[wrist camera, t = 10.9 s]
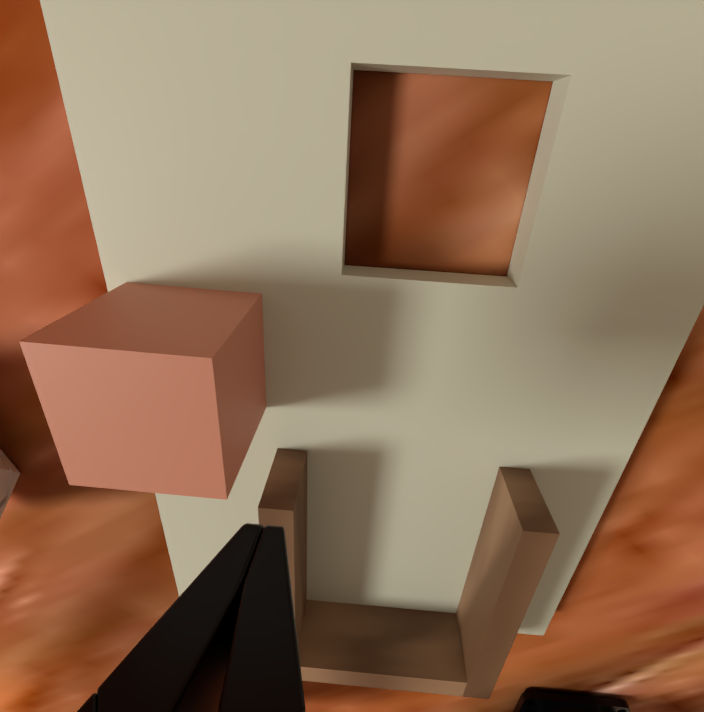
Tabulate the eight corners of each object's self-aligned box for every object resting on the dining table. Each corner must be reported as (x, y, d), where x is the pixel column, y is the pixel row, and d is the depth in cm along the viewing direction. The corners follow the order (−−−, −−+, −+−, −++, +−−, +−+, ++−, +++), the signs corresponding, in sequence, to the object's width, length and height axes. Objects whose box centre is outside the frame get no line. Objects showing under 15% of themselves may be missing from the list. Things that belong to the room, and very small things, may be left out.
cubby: (530, 469, 16) (559, 534, 13) (475, 629, 21) (488, 699, 19) (277, 448, 16) (257, 507, 14) (283, 611, 21) (270, 677, 19)
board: (816, -15, 10) (867, -34, 9) (535, 611, 22) (543, 635, 21) (58, -54, 11) (22, -76, 9) (189, 579, 23) (180, 601, 22)
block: (262, 293, 13) (211, 358, 9) (266, 407, 15) (226, 500, 11) (125, 282, 13) (19, 341, 9) (148, 396, 16) (69, 484, 12)
